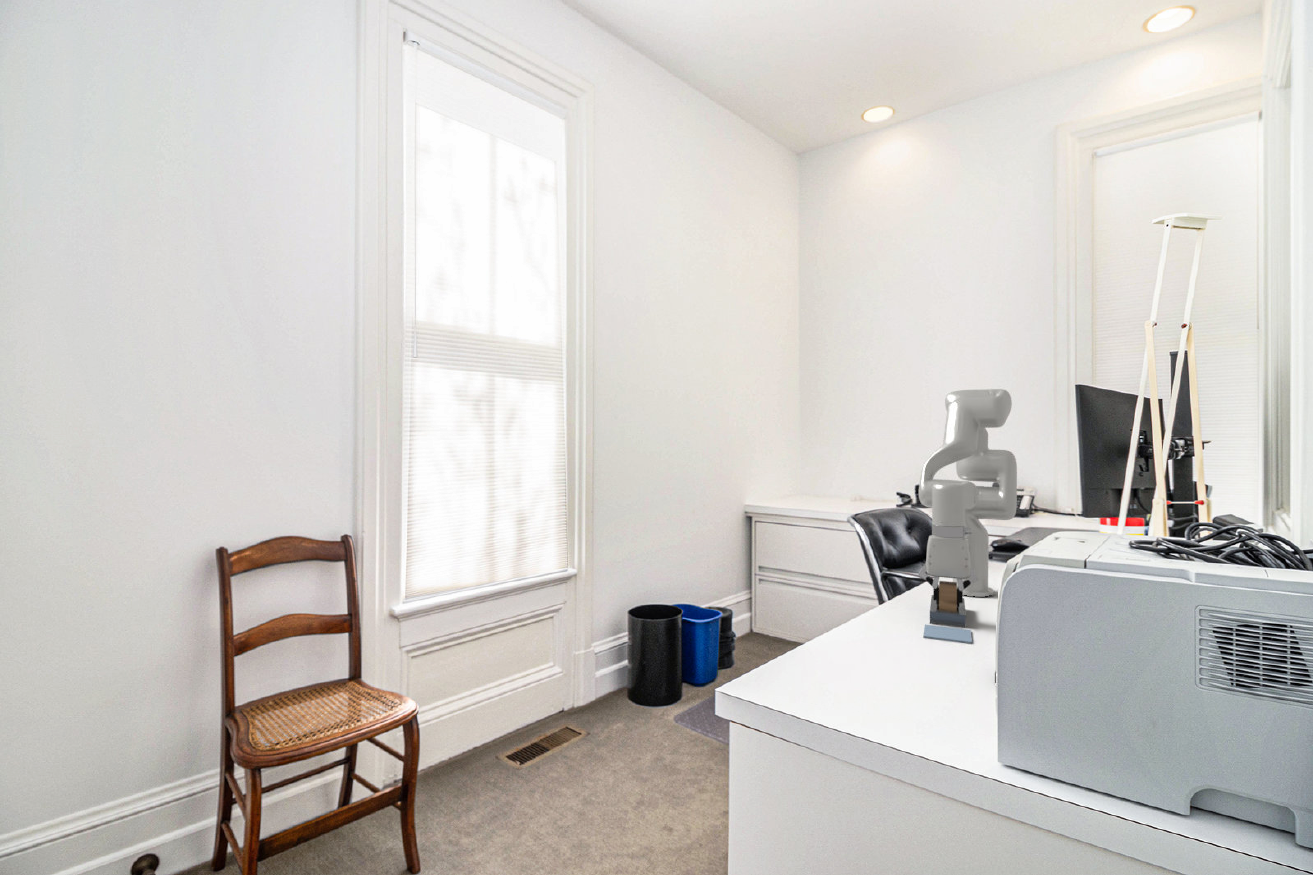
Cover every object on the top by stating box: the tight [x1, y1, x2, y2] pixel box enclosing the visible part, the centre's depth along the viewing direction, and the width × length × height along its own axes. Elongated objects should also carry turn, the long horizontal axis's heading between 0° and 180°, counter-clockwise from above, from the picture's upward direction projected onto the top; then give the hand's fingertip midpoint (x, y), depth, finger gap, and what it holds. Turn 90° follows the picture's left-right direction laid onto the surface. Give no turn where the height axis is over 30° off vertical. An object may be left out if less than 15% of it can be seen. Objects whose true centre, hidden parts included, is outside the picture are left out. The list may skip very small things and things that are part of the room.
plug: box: [938, 580, 957, 612], centre depth 163 cm, size 4×4×9 cm
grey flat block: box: [929, 594, 967, 628], centre depth 166 cm, size 18×8×3 cm, turn 155°
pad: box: [922, 624, 973, 645], centre depth 151 cm, size 10×10×1 cm
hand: (947, 603), depth 163 cm, fingers closed on plug, 4 cm apart
